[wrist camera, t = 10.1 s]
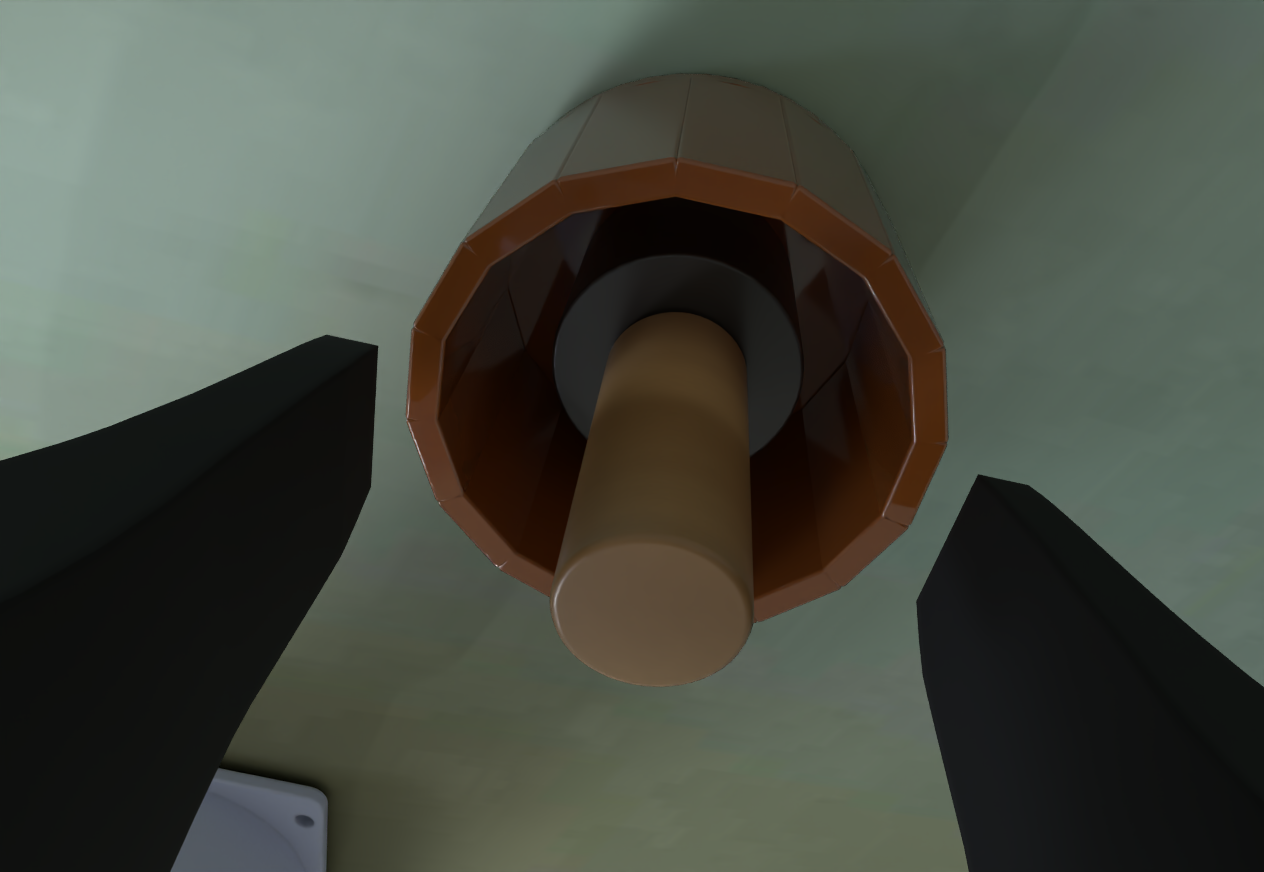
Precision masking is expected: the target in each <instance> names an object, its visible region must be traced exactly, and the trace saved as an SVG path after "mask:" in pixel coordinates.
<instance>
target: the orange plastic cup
mask: <svg viewBox="0 0 1264 872" xmlns="http://www.w3.org/2000/svg"><path fill="white" fill-rule="evenodd" d="M672 197H678V198H683V199H687V200H692V201H696V202H701V203H705V204H710V205H715V206H719V207H724V208H728V209H733V210H737V211H742V212H746V213H751V214H755V215H760V216H762V217H763V218H764V219H765V220H766V221H767V222H768V223H769V224H770V225H771V227H772V228H773V230H774V231H775V232H776V234H777V235H778V237H779V238H780V240H781V242H782V244H783V246H784V248H785V250H786V253H787V256H788V259H789V262H790V267H791V272H792V278H793V284H794V291H795V298H796V305H797V312H798V319H799V326H800V333H801V340H802V347H803V354H804V377H803V385H802V389H801V393H800V397H799V400H798V402H797V404H796V407H795V409H794V411H793V413H792V415H791V417H790V418H789V420H788V422H787V423H786V425H785V426H784V427H783V428H782V430H781V431H780V432H779V433H778V435H777V436H776V437H775V438H774V439H773V440H772V441H771V442H770V443H769V444H768V445H767V446H766V447H764V448H763V449H762V450H760V451H759V452H758V453H756V454H755V455H753V456H752V457H750V487H751V520H752V553H753V587H754V621H753V623H756V622H757V621H758V622H761V621H764V620H766V619H769V618H771V617H774V616H776V615H778V614H781V613H783V612H786V611H788V610H790V609H793V608H795V607H798V606H800V605H803V604H805V603H807V602H810V601H812V600H815V599H817V598H820V597H822V596H824V595H827V594H829V593H832V592H834V591H837V590H839V589H840V588H841V586H842V587H843V586H845V585H847V584H848V583H849V582H850V581H851V580H852V579H853V578H854V577H855V576H856V575H858V574H859V573H860V572H861V571H862V570H863V569H864V568H865V567H866V566H867V565H869V564H870V563H871V562H872V561H873V560H874V559H875V558H876V557H877V556H878V555H880V554H881V553H882V552H883V551H884V550H885V549H886V548H887V547H888V546H889V545H891V544H892V543H893V542H894V541H895V540H896V539H897V538H898V537H899V536H900V535H902V534H903V533H904V532H905V531H906V530H907V529H908V527H909V525H911V523H912V521H913V519H914V517H915V515H916V512H917V510H918V508H919V506H920V504H921V501H922V499H923V497H924V495H925V493H926V490H927V488H928V486H929V484H930V482H931V480H932V477H933V475H934V473H935V471H936V469H937V466H938V464H939V462H940V460H941V458H942V455H943V453H944V451H945V449H946V447H947V441H948V438H949V435H948V402H947V368H946V349H945V346H944V341H943V339H942V337H941V334H940V332H939V330H938V328H937V325H936V323H935V321H934V318H933V316H932V314H931V311H930V309H929V307H928V305H927V302H926V300H925V298H924V295H923V293H922V291H921V289H920V286H919V284H918V282H917V279H916V277H915V275H914V273H913V270H912V268H911V266H910V263H909V261H908V259H907V256H906V254H905V252H904V250H903V247H902V245H901V243H900V240H899V238H898V236H897V234H896V231H895V229H894V227H893V224H892V222H891V220H890V218H889V216H888V214H887V212H886V210H885V209H884V207H883V205H882V203H881V201H880V199H879V197H878V196H877V194H876V192H875V190H874V188H873V186H872V184H871V181H870V179H869V177H868V175H867V174H866V172H865V171H864V169H863V168H862V166H861V164H860V162H859V161H858V159H857V157H856V155H855V153H854V151H852V150H851V149H850V147H849V146H848V145H847V144H845V143H844V142H843V141H842V140H841V138H840V137H839V136H838V135H837V134H836V133H835V132H834V131H833V130H832V129H831V128H829V127H828V126H827V125H826V124H825V123H824V122H823V121H821V120H820V119H819V118H818V117H817V116H816V115H814V114H813V113H811V112H810V111H808V110H807V109H805V108H804V107H802V106H800V105H799V104H797V103H796V102H794V101H793V100H791V99H789V98H787V97H785V96H783V95H781V94H778V93H776V92H774V91H772V90H770V89H768V88H765V87H763V86H760V85H756V84H753V83H750V82H746V81H743V80H740V79H736V78H730V77H723V76H717V75H710V74H670V75H662V76H654V77H647V78H644V79H640V80H636V81H633V82H629V83H625V84H621V85H619V86H616V87H614V88H612V89H609V90H607V91H605V92H602V93H600V94H598V95H595V96H593V97H592V98H590V99H588V100H587V101H585V102H583V103H582V104H580V105H578V106H577V107H575V108H573V109H572V110H570V111H569V112H568V113H566V114H565V115H564V116H563V117H561V118H560V119H559V120H558V121H557V122H555V123H554V124H553V125H552V126H550V127H549V128H548V129H547V130H546V131H545V132H544V133H543V134H542V135H540V136H539V137H537V138H536V139H534V140H533V142H532V143H531V144H530V145H529V146H528V147H527V149H526V150H525V152H524V153H523V154H522V156H521V157H520V159H519V160H518V162H517V163H516V164H515V166H514V167H513V169H512V170H511V172H510V173H509V174H508V176H507V177H506V179H505V180H504V182H503V183H502V184H501V186H500V187H499V189H498V190H497V192H496V193H495V195H494V196H493V197H492V199H491V200H490V202H489V203H488V205H487V206H486V207H485V209H484V210H483V212H482V213H481V215H480V216H479V217H478V219H477V220H476V222H475V223H474V225H473V226H472V227H471V229H470V230H469V232H468V233H467V235H466V236H465V238H464V239H463V240H462V242H461V243H460V245H459V247H458V248H457V250H456V252H455V253H454V255H453V257H452V258H451V260H450V262H449V264H448V265H447V267H446V269H445V270H444V272H443V274H442V275H441V277H440V279H439V281H438V282H437V284H436V286H435V287H434V289H433V291H432V292H431V294H430V296H429V297H428V299H427V301H426V303H425V304H424V306H423V308H422V309H421V311H420V313H419V314H418V316H417V318H416V319H415V321H414V325H413V328H412V330H411V343H410V357H409V371H408V385H407V399H406V413H405V414H406V418H407V425H408V427H409V430H410V433H411V435H412V438H413V440H414V443H415V446H416V448H417V451H418V454H419V456H420V459H421V462H422V464H423V467H424V470H425V472H426V475H427V477H428V480H429V483H430V485H431V488H432V491H433V493H434V496H435V499H436V500H437V501H438V502H439V505H440V506H441V507H442V508H443V510H444V511H445V512H446V513H447V514H448V515H449V516H450V517H451V518H452V519H453V520H454V522H455V523H456V524H457V525H458V526H459V527H460V528H461V529H462V530H463V531H464V533H465V534H466V535H467V536H468V537H469V538H470V539H471V540H472V541H473V542H474V543H475V545H476V546H477V547H478V548H479V549H480V550H481V551H482V552H483V553H484V554H485V556H486V557H487V558H488V559H489V560H490V561H491V562H492V563H493V564H494V565H495V566H496V567H499V569H500V570H501V571H503V572H505V573H506V574H508V575H510V576H512V577H514V578H516V579H517V580H519V581H521V582H523V583H525V584H526V585H528V586H530V587H532V588H534V589H536V590H537V591H539V592H541V593H543V594H545V595H546V596H548V597H550V592H551V587H552V583H553V579H554V575H555V571H556V566H557V562H558V558H559V554H560V550H561V546H562V542H563V538H564V534H565V530H566V526H567V522H568V518H569V514H570V510H571V505H572V501H573V497H574V493H575V489H576V485H577V481H578V477H579V473H580V469H581V465H582V461H583V457H584V453H585V449H586V444H587V440H586V439H585V438H584V437H583V435H582V434H581V433H580V432H579V431H578V430H577V429H576V428H575V426H574V425H573V423H572V422H571V420H570V419H569V417H568V416H567V414H566V412H565V410H564V408H563V406H562V405H561V403H560V400H559V397H558V394H557V392H556V389H555V384H554V379H553V374H552V351H553V343H554V339H555V335H556V331H557V328H558V325H559V323H560V320H561V317H562V315H563V312H564V309H565V306H566V304H567V301H568V298H569V295H570V293H571V290H572V287H573V285H574V282H575V279H576V276H577V274H578V271H579V268H580V266H581V263H582V260H583V257H584V255H585V252H586V250H587V247H588V245H589V243H590V241H591V239H592V238H593V236H594V234H595V233H596V231H597V230H598V229H599V227H600V226H601V225H602V223H603V222H604V221H605V220H606V219H607V218H608V217H609V216H610V215H611V214H612V213H613V212H614V211H616V210H617V209H619V208H620V207H621V206H625V205H631V204H637V203H643V202H649V201H654V200H660V199H666V198H672Z"/></svg>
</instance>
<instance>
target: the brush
mask: <svg viewBox="0 0 1264 872" xmlns="http://www.w3.org/2000/svg"><path fill="white" fill-rule="evenodd" d="M552 374H553V379H554V384H555V389H556V392H557V394H558V397H559V400H560V403H561V405H562V406H563V408H564V410H565V412H566V414H567V416H568V417H569V419H570V420H571V422H572V423H573V425H574V426H575V428H576V429H577V430H578V431H579V432H580V433H581V434H582V435H583V437H584V438H585V439H586V440H587V444H586V449H585V453H584V457H583V461H582V465H581V469H580V473H579V477H578V481H577V485H576V489H575V493H574V497H573V501H572V505H571V510H570V514H569V518H568V522H567V526H566V530H565V534H564V538H563V542H562V546H561V550H560V554H559V558H558V562H557V566H556V571H555V575H554V579H553V583H552V587H551V592H550V611H551V615H552V619H553V622H554V625H555V627H556V630H557V632H558V634H559V636H560V638H561V639H562V641H563V643H564V644H565V645H566V646H567V648H568V649H569V650H570V651H571V652H572V653H573V654H574V655H575V656H576V657H577V658H578V659H579V660H580V661H582V662H583V663H584V664H586V665H587V666H589V667H590V668H592V669H594V670H595V671H597V672H599V673H601V674H603V675H605V676H607V677H610V678H613V679H615V680H618V681H622V682H626V683H629V684H634V685H641V686H652V687H667V686H676V685H683V684H687V683H692V682H695V681H698V680H701V679H704V678H706V677H708V676H710V675H712V674H714V673H716V672H717V671H719V670H721V669H722V668H724V667H725V666H726V665H727V664H728V663H730V662H731V661H732V660H733V659H734V658H735V657H736V656H737V655H738V653H739V652H740V650H741V649H742V647H743V646H744V644H745V643H746V641H747V639H748V637H749V635H750V633H751V629H752V626H753V621H754V587H753V553H752V520H751V487H750V457H752V456H753V455H755V454H756V453H758V452H759V451H760V450H762V449H763V448H764V447H766V446H767V445H768V444H769V443H770V442H771V441H772V440H773V439H774V438H775V437H776V436H777V435H778V433H779V432H780V431H781V430H782V428H783V427H784V426H785V425H786V423H787V422H788V420H789V418H790V417H791V415H792V413H793V411H794V409H795V407H796V404H797V402H798V400H799V397H800V393H801V389H802V385H803V377H804V354H803V347H802V340H801V333H800V326H799V319H798V312H797V305H796V298H795V291H794V284H793V278H792V272H791V267H790V262H789V259H788V256H787V253H786V250H785V248H784V246H783V244H782V242H781V240H780V238H779V237H778V235H777V234H776V232H775V231H774V230H773V228H772V227H771V225H770V224H769V223H768V222H767V221H766V220H765V219H764V218H763V217H762V216H760V215H755V214H751V213H746V212H742V211H737V210H733V209H728V208H724V207H719V206H715V205H710V204H705V203H701V202H696V201H692V200H687V199H683V198H678V197H672V198H666V199H660V200H654V201H649V202H643V203H637V204H631V205H625V206H621V207H620V208H619V209H617V210H616V211H614V212H613V213H612V214H611V215H610V216H609V217H608V218H607V219H606V220H605V221H604V222H603V223H602V225H601V226H600V227H599V229H598V230H597V231H596V233H595V234H594V236H593V238H592V239H591V241H590V243H589V245H588V247H587V250H586V252H585V255H584V257H583V260H582V263H581V266H580V268H579V271H578V274H577V276H576V279H575V282H574V285H573V287H572V290H571V293H570V295H569V298H568V301H567V304H566V306H565V309H564V312H563V315H562V317H561V320H560V323H559V325H558V328H557V331H556V335H555V339H554V343H553V351H552Z"/></svg>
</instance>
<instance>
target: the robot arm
mask: <svg viewBox="0 0 1264 872" xmlns="http://www.w3.org/2000/svg"><path fill="white" fill-rule="evenodd" d="M377 358H378V346H377V345H372V344H367V343H363V342H358V341H353V340H349V339H344V338H339V337H335V336H330V335H325V336H322V337H319V338H316V339H313V340H311V341H309V342H306V343H304V344H301V345H299V346H297V347H295V348H292V349H290V350H288V351H286V352H283V353H281V354H279V355H277V356H275V357H273V358H270V359H268V360H266V361H264V362H262V363H260V364H257V365H255V366H253V367H251V368H249V369H246V370H244V371H242V372H240V373H237V374H235V375H233V376H231V377H228V378H226V379H224V380H222V381H220V382H217V383H215V384H213V385H211V386H208V387H206V388H204V389H202V390H199V391H197V392H195V393H193V394H190V395H188V396H185V397H183V398H180V399H178V400H175V401H172V402H170V403H167V404H165V405H162V406H160V407H157V408H155V409H152V410H150V411H147V412H145V413H142V414H139V415H137V416H134V417H132V418H129V419H127V420H124V421H122V422H119V423H117V424H114V425H112V426H109V427H106V428H103V429H100V430H98V431H95V432H92V433H89V434H86V435H83V436H80V437H77V438H74V439H71V440H68V441H65V442H62V443H59V444H56V445H52V446H49V447H45V448H42V449H39V450H35V451H32V452H29V453H25V454H22V455H19V456H15V457H12V458H8V459H5V460H1V461H0V872H326V864H327V822H328V801H327V797H326V796H325V795H324V794H323V792H321V791H320V790H318V789H316V788H313V787H310V786H305V785H300V784H295V783H291V782H286V781H281V780H276V779H271V778H266V777H261V776H256V775H251V774H246V773H241V772H236V771H231V770H226V769H221V768H218V767H219V765H220V763H221V761H222V759H223V757H224V755H225V753H226V750H227V748H228V746H229V744H230V742H231V740H232V738H233V736H234V734H235V733H236V731H237V729H238V727H239V725H240V723H241V722H242V720H243V718H244V716H245V714H246V713H247V711H248V709H249V707H250V705H251V704H252V702H253V700H254V699H255V697H256V695H257V694H258V692H259V690H260V689H261V687H262V685H263V684H264V682H265V681H266V679H267V677H268V676H269V674H270V672H271V671H272V669H273V668H274V666H275V664H276V663H277V661H278V659H279V658H280V656H281V654H282V653H283V651H284V650H285V648H286V646H287V645H288V643H289V641H290V640H291V638H292V636H293V635H294V633H295V632H296V630H297V628H298V627H299V625H300V623H301V622H302V620H303V619H304V617H305V615H306V614H307V612H308V610H309V609H310V607H311V605H312V604H313V602H314V600H315V599H316V597H317V595H318V594H319V592H320V590H321V589H322V587H323V585H324V584H325V582H326V580H327V579H328V577H329V576H330V574H331V572H332V570H333V569H334V567H335V565H336V564H337V562H338V560H339V559H340V557H341V555H342V553H343V551H344V549H345V546H346V544H347V542H348V540H349V537H350V535H351V533H352V531H353V528H354V526H355V524H356V521H357V519H358V517H359V514H360V512H361V509H362V507H363V505H364V502H365V500H366V497H367V495H368V493H369V490H370V488H371V475H372V456H373V436H374V417H375V397H376V378H377ZM916 603H917V617H918V632H919V644H920V654H921V663H922V673H923V678H924V683H925V688H926V692H927V697H928V701H929V705H930V709H931V714H932V718H933V722H934V726H935V731H936V735H937V739H938V743H939V747H940V751H941V755H942V759H943V763H944V767H945V771H946V775H947V780H948V784H949V788H950V792H951V796H952V800H953V804H954V808H955V812H956V816H957V820H958V824H959V828H960V832H961V837H962V841H963V845H964V849H965V854H966V859H967V864H968V869H969V872H1264V687H1263V686H1262V685H1260V684H1259V683H1258V682H1256V681H1255V680H1254V679H1252V678H1251V677H1250V676H1249V675H1247V674H1246V673H1245V672H1244V671H1242V670H1241V669H1240V668H1239V667H1238V666H1236V665H1235V664H1234V663H1233V662H1232V661H1230V660H1229V659H1228V658H1227V657H1226V656H1224V655H1223V654H1222V653H1221V652H1220V651H1218V650H1217V649H1216V648H1215V647H1213V646H1212V645H1211V644H1210V643H1209V642H1207V641H1206V640H1205V639H1204V638H1203V637H1201V636H1200V635H1199V634H1198V633H1197V632H1195V631H1194V630H1193V629H1192V628H1191V627H1190V626H1188V625H1187V624H1186V623H1185V622H1184V621H1183V620H1182V619H1180V618H1179V617H1178V616H1177V615H1176V614H1175V613H1173V612H1172V611H1171V610H1170V609H1169V608H1168V607H1167V606H1165V605H1164V604H1163V603H1162V602H1161V601H1160V600H1159V599H1158V598H1156V597H1155V596H1154V595H1153V594H1152V593H1151V592H1150V591H1149V590H1148V589H1146V588H1145V587H1144V586H1143V585H1142V584H1141V583H1140V582H1139V581H1138V580H1137V579H1135V578H1134V577H1133V576H1132V575H1131V574H1130V573H1129V572H1128V571H1127V570H1126V569H1124V568H1123V567H1122V566H1121V565H1120V564H1119V563H1118V562H1117V561H1116V560H1115V559H1114V558H1112V557H1111V556H1110V555H1109V554H1108V553H1107V552H1106V551H1105V550H1104V549H1103V548H1102V547H1100V546H1099V545H1098V544H1097V543H1096V542H1095V541H1094V540H1093V539H1092V538H1091V537H1090V536H1088V535H1087V534H1086V533H1085V532H1084V531H1083V530H1082V529H1081V528H1080V527H1079V526H1077V525H1076V524H1075V523H1074V522H1073V521H1072V520H1071V519H1070V518H1068V517H1067V516H1066V515H1065V514H1064V513H1063V512H1062V511H1060V510H1059V509H1058V508H1057V507H1056V506H1055V505H1053V504H1052V503H1051V502H1050V501H1049V500H1047V499H1046V498H1045V497H1044V496H1042V495H1041V494H1040V493H1038V492H1037V491H1036V490H1034V489H1033V488H1031V487H1030V486H1029V485H1025V484H1020V483H1016V482H1011V481H1006V480H1002V479H997V478H992V477H988V476H983V475H978V476H977V478H976V480H975V482H974V484H973V486H972V488H971V490H970V492H969V494H968V496H967V498H966V500H965V502H964V504H963V506H962V509H961V511H960V513H959V515H958V517H957V519H956V521H955V523H954V525H953V527H952V529H951V531H950V533H949V535H948V537H947V539H946V541H945V543H944V546H943V548H942V550H941V552H940V554H939V556H938V558H937V560H936V562H935V564H934V566H933V568H932V570H931V572H930V574H929V576H928V578H927V580H926V583H925V585H924V587H923V589H922V591H921V593H920V595H919V597H918V599H917V601H916Z"/></svg>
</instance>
